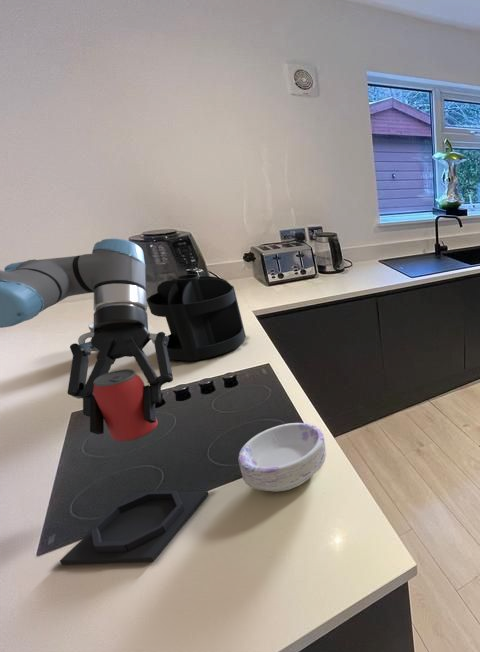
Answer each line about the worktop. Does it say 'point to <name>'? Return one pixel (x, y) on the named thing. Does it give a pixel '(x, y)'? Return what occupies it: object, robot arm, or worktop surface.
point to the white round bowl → (282, 457)
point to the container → (198, 316)
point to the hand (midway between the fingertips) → (124, 426)
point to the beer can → (122, 404)
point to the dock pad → (136, 528)
